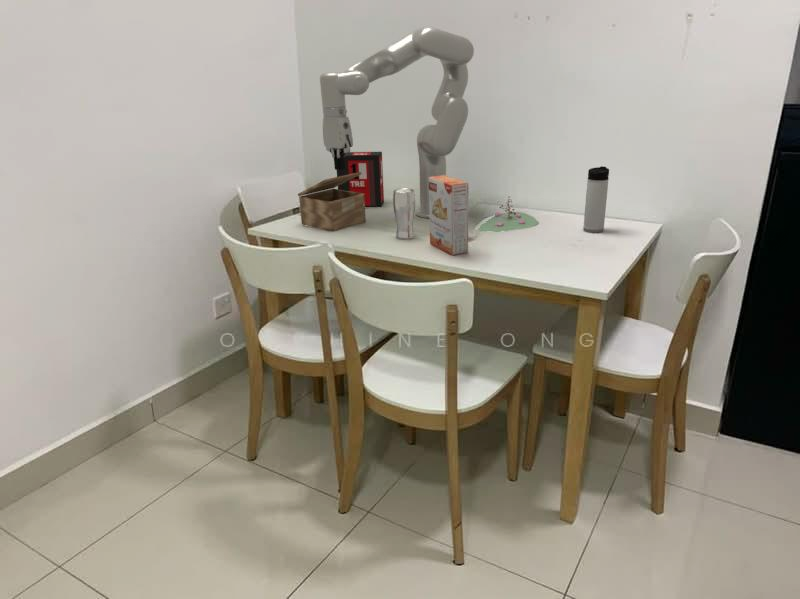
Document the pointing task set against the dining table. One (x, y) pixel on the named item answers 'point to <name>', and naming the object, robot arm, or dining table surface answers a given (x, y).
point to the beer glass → (404, 212)
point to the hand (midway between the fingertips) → (339, 169)
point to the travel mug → (596, 199)
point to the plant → (508, 221)
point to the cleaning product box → (364, 176)
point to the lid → (329, 183)
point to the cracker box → (448, 214)
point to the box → (332, 209)
